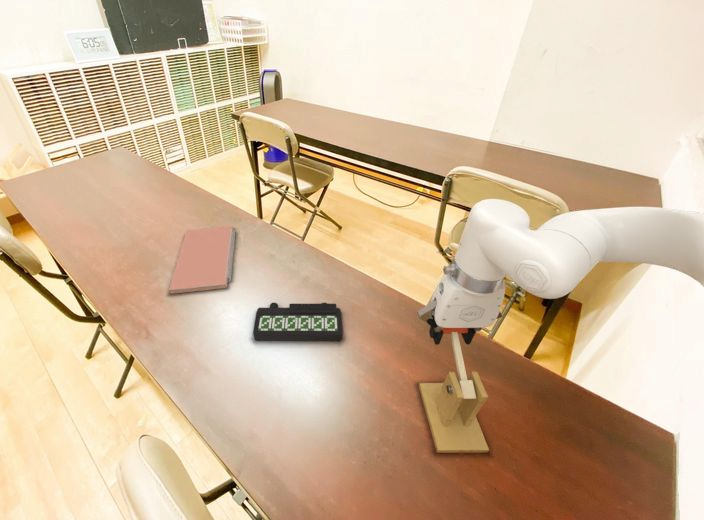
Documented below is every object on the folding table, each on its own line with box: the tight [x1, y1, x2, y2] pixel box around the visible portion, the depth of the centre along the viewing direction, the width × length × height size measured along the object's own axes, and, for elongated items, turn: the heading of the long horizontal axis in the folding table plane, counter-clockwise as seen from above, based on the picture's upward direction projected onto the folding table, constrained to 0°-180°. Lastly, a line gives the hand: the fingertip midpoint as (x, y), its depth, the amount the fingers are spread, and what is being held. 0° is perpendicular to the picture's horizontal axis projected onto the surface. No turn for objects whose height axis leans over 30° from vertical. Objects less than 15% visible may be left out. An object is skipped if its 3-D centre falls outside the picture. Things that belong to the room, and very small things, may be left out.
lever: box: [442, 328, 476, 399], centre depth 58 cm, size 12×5×2 cm, turn 0°
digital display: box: [252, 302, 343, 342], centre depth 80 cm, size 21×3×10 cm
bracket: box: [418, 371, 490, 454], centre depth 59 cm, size 12×9×13 cm
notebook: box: [168, 225, 236, 295], centre depth 101 cm, size 27×17×2 cm, turn 6°
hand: (449, 337), depth 62 cm, fingers closed on lever, 5 cm apart
